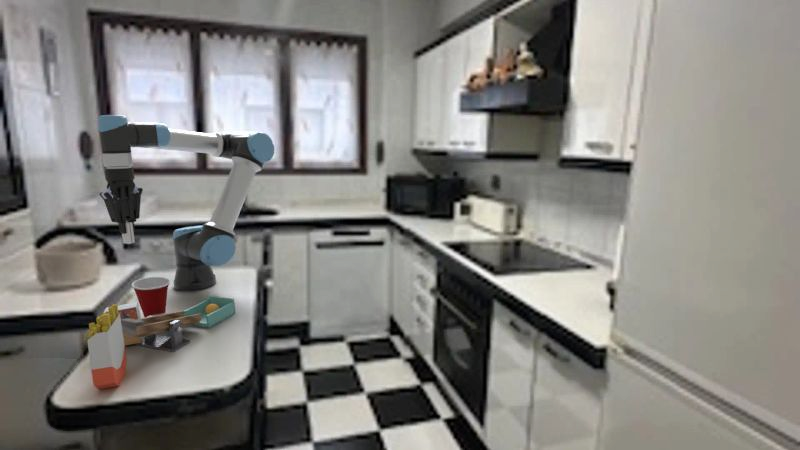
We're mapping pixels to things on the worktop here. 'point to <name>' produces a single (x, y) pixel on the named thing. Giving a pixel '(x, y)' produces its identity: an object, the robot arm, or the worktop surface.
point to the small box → (131, 313)
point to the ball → (211, 308)
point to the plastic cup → (152, 294)
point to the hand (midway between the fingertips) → (129, 242)
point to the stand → (166, 339)
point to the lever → (156, 324)
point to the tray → (215, 317)
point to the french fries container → (107, 349)
